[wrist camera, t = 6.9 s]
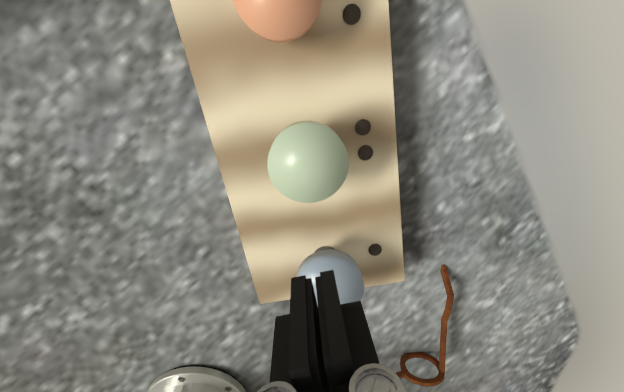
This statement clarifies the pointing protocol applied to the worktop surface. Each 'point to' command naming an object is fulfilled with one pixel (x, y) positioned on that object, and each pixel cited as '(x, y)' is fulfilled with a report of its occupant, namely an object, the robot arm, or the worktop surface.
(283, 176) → the sage key
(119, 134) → the worktop surface
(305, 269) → the slate-blue key
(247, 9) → the terracotta key
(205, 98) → the wooden button board
